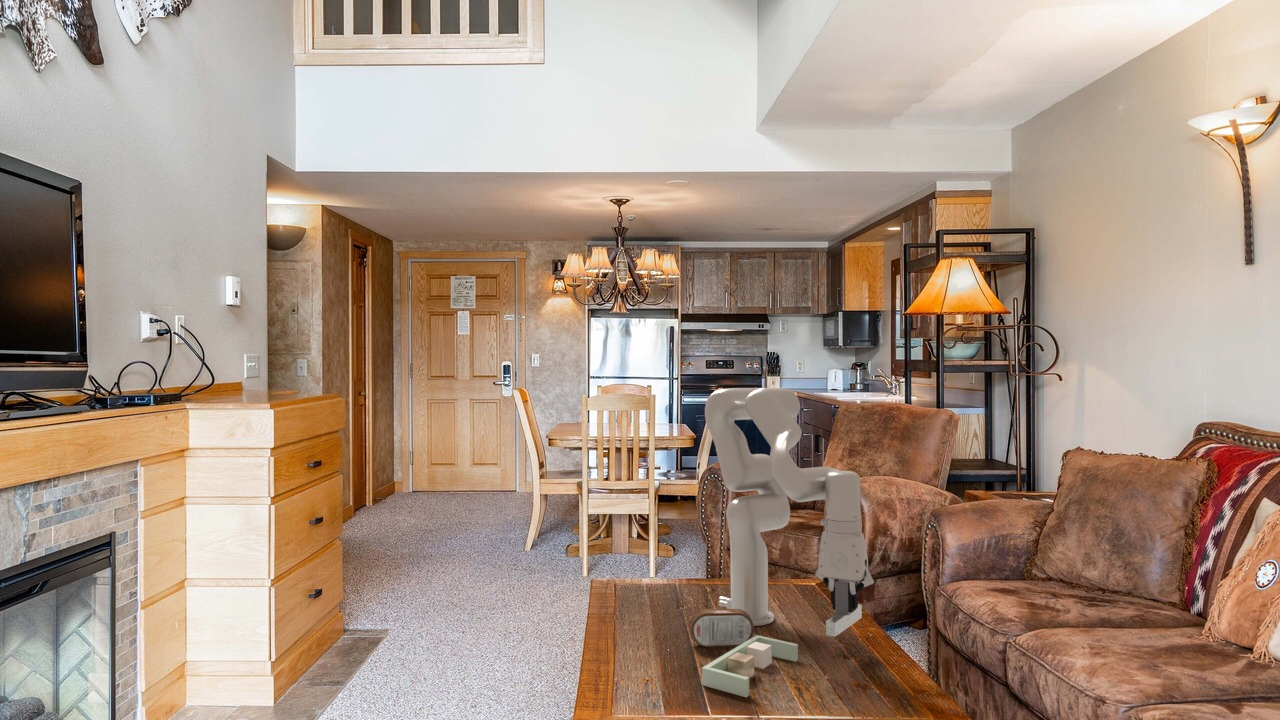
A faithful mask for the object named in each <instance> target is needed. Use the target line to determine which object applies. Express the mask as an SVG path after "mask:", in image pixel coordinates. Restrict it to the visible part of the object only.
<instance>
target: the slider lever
mask: <svg viewBox="0 0 1280 720" xmlns="http://www.w3.org/2000/svg"><path fill="white" fill-rule="evenodd" d="M849 594H850V584H849V581H845V580H839V579H838V580H836V581H835V610H834V613H835V614H834V615H833V616H831V617H829V618H828V619H827V620H826V621H825V635H826V636H830V637H837V636H838V635H840V634H841V633H843V632H844V631H846V630H847V629H848V628H849V627H851V626H852V625H854V624H855V623H857V622H858V621H860V619H862V617H863V615H862V614H863V613H862V612H863V611H862V604H859V603H858V607H857V608H856V610H855V611H854V612H852V613H850V612H849V611H848V595H849Z"/></svg>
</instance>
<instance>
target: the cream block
mask: <svg viewBox="0 0 1280 720" xmlns="http://www.w3.org/2000/svg"><path fill="white" fill-rule="evenodd" d="M747 655H751V656H754V668H756V669H757V668H758V669H762V670H765V668H767V667H768V666H770V665H771V664H773V663H772V660H773V659H772V657H773V656H772V645H768V644H764V643H759V642H754V643H752V644H750V645H749V646H747Z"/></svg>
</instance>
